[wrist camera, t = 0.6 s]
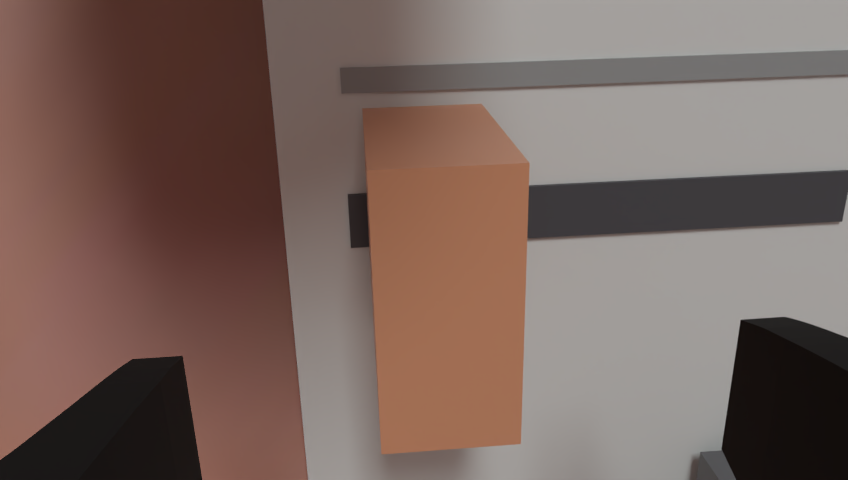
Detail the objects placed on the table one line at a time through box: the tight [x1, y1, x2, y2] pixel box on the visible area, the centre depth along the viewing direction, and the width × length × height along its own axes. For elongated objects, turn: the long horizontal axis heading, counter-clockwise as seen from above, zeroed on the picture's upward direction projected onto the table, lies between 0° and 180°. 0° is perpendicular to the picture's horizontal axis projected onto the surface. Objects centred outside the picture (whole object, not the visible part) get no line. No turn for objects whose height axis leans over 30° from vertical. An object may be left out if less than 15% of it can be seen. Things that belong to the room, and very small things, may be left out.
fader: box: [362, 104, 530, 454], centre depth 14 cm, size 2×5×4 cm, turn 1°
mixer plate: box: [262, 0, 848, 480], centre depth 19 cm, size 16×22×2 cm
